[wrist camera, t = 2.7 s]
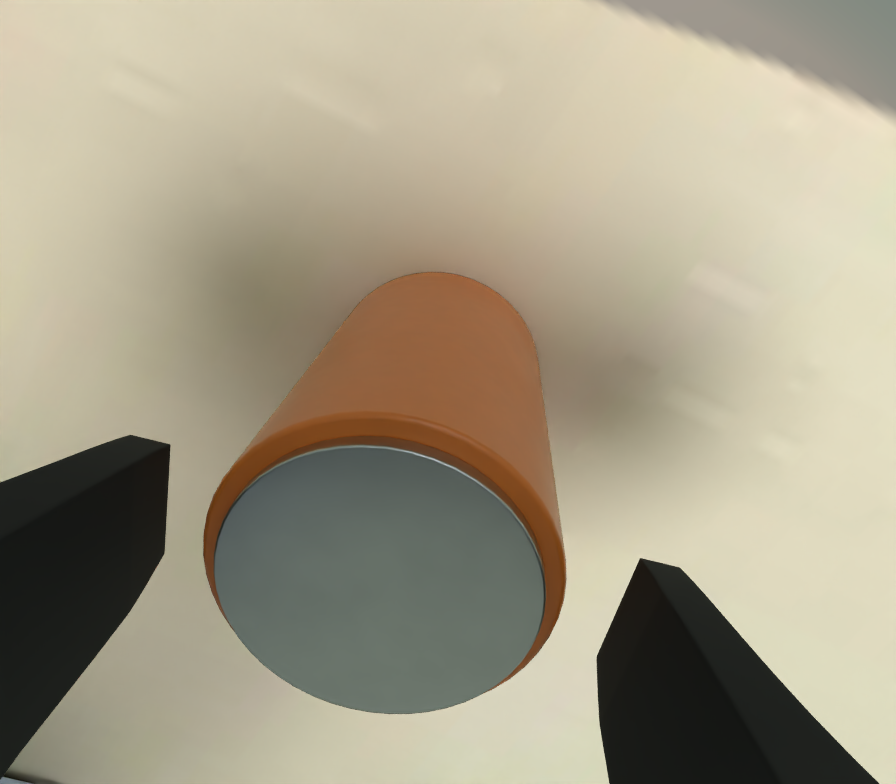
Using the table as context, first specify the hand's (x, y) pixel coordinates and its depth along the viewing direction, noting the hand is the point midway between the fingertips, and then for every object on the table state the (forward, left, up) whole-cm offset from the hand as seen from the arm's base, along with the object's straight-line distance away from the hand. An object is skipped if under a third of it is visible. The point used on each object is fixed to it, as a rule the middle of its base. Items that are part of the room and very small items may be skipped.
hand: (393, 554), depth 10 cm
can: (0, 0, -7) cm, 7 cm away
